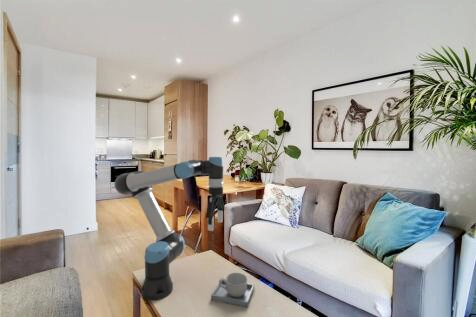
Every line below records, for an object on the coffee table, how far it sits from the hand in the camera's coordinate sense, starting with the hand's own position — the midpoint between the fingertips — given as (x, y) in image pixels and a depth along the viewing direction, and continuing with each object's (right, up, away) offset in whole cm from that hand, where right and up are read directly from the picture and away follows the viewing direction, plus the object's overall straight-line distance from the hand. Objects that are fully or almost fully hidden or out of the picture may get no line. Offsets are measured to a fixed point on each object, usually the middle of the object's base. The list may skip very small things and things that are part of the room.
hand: (215, 226), depth 127 cm
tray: (+10, -32, -7) cm, 34 cm away
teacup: (+9, -32, -7) cm, 34 cm away
